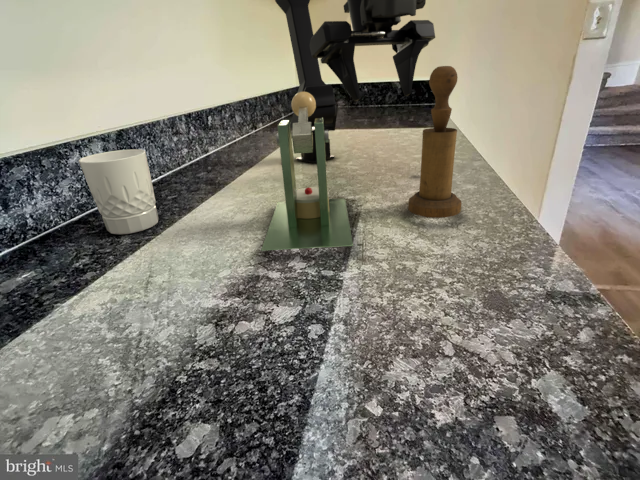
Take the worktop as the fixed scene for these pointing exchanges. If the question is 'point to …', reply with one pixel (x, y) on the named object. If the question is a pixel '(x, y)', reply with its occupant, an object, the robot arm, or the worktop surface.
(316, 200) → the cake
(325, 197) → the slicer bracket
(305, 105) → the lever
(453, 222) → the worktop surface
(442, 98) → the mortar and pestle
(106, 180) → the white cup
